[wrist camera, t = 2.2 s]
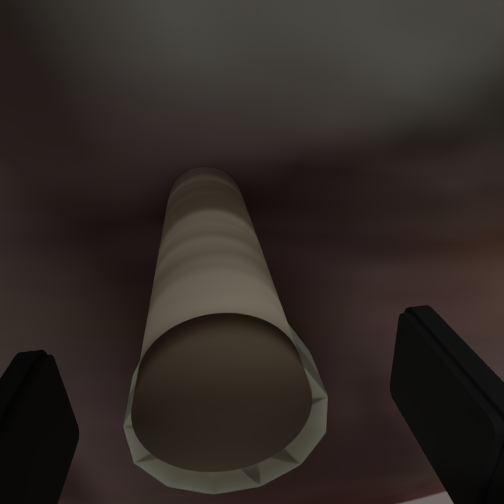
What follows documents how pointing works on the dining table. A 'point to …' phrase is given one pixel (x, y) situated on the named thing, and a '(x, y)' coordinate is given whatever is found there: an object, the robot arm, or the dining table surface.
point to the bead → (251, 474)
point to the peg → (216, 339)
